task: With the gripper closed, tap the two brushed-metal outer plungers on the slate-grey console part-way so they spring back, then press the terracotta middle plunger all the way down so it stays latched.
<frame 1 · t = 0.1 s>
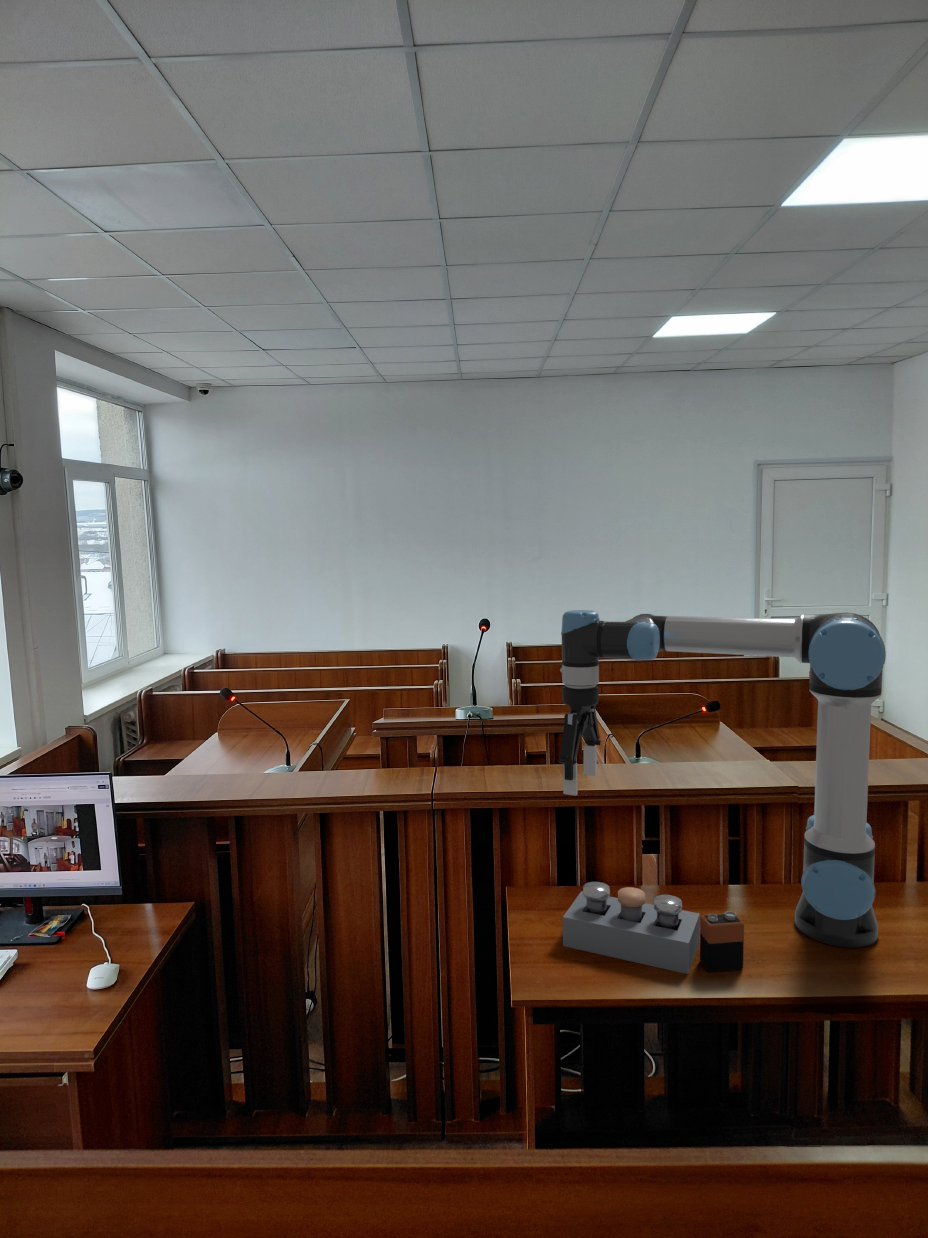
hand: (580, 784, 163), 28 cm above the table, fingers open, 13 cm apart
plunger 1: (596, 903, 155), point 7 cm above the table, slide at 0.2 cm
plunger mid: (631, 909, 152), point 7 cm above the table, slide at 0.0 cm
battery: (721, 966, 145), on the table
plunger 2: (667, 917, 149), point 7 cm above the table, slide at 0.2 cm
console: (631, 944, 152), on the table
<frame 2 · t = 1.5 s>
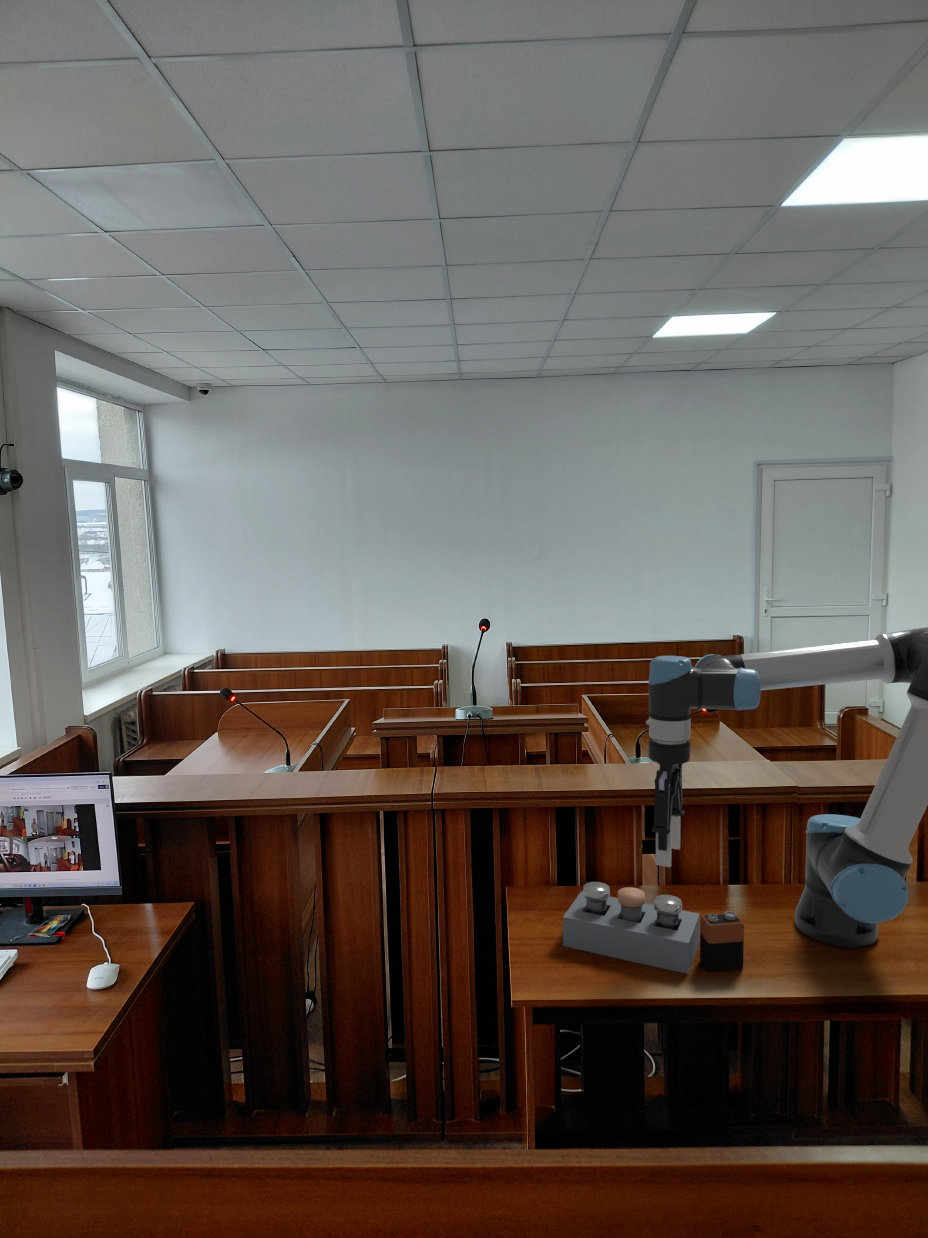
hand: (668, 856, 147), 19 cm above the table, fingers open, 8 cm apart
nothing on the table moved.
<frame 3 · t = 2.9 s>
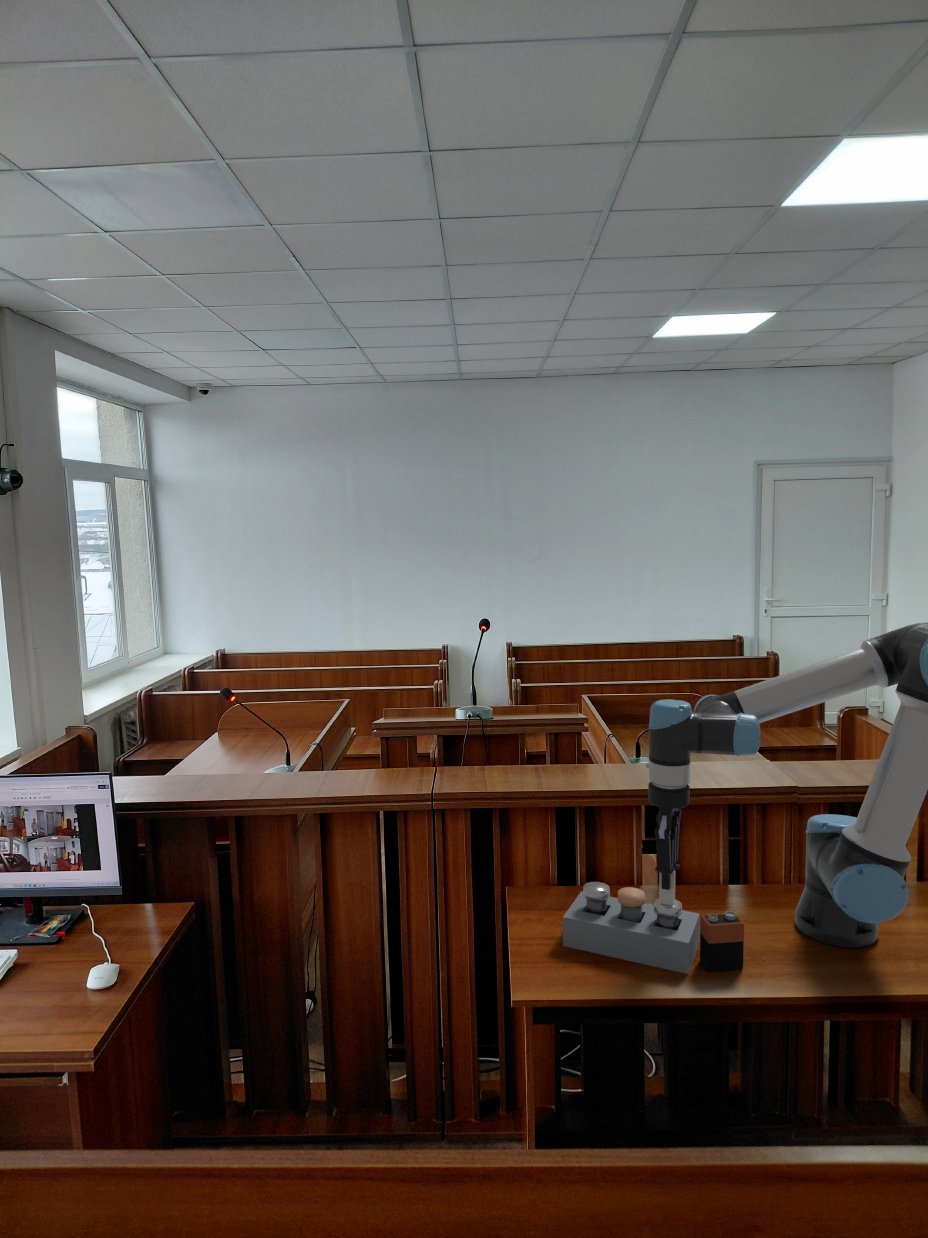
hand: (666, 902, 148), 10 cm above the table, fingers closed
plunger 2: (667, 920, 149), point 6 cm above the table, slide at 0.8 cm, touching gripper
everything else where it was.
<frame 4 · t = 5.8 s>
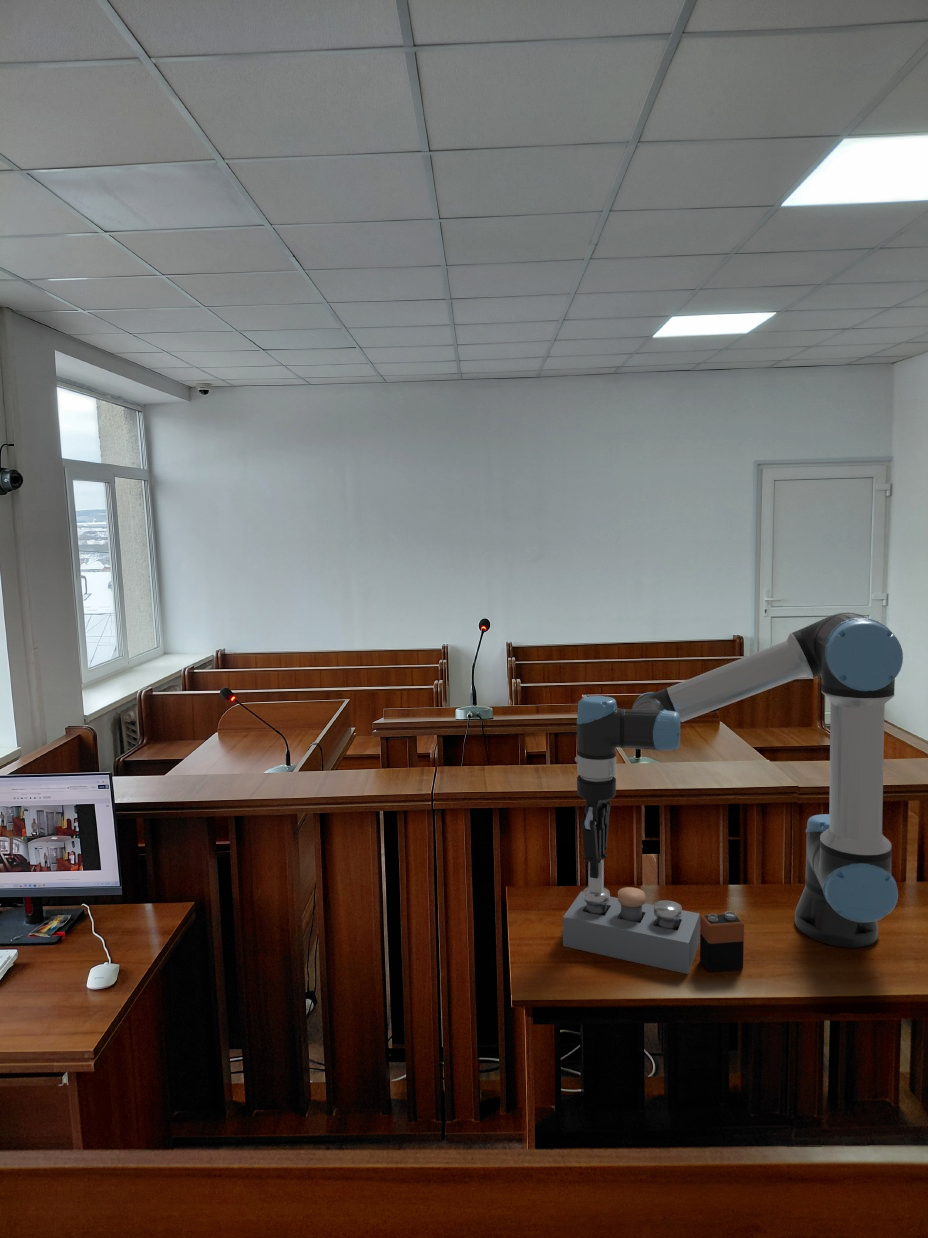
hand: (595, 890, 154), 10 cm above the table, fingers closed
plunger 1: (596, 907, 155), point 6 cm above the table, slide at 1.1 cm, touching gripper
plunger 2: (667, 923, 149), point 6 cm above the table, slide at 1.3 cm
everything else where it was.
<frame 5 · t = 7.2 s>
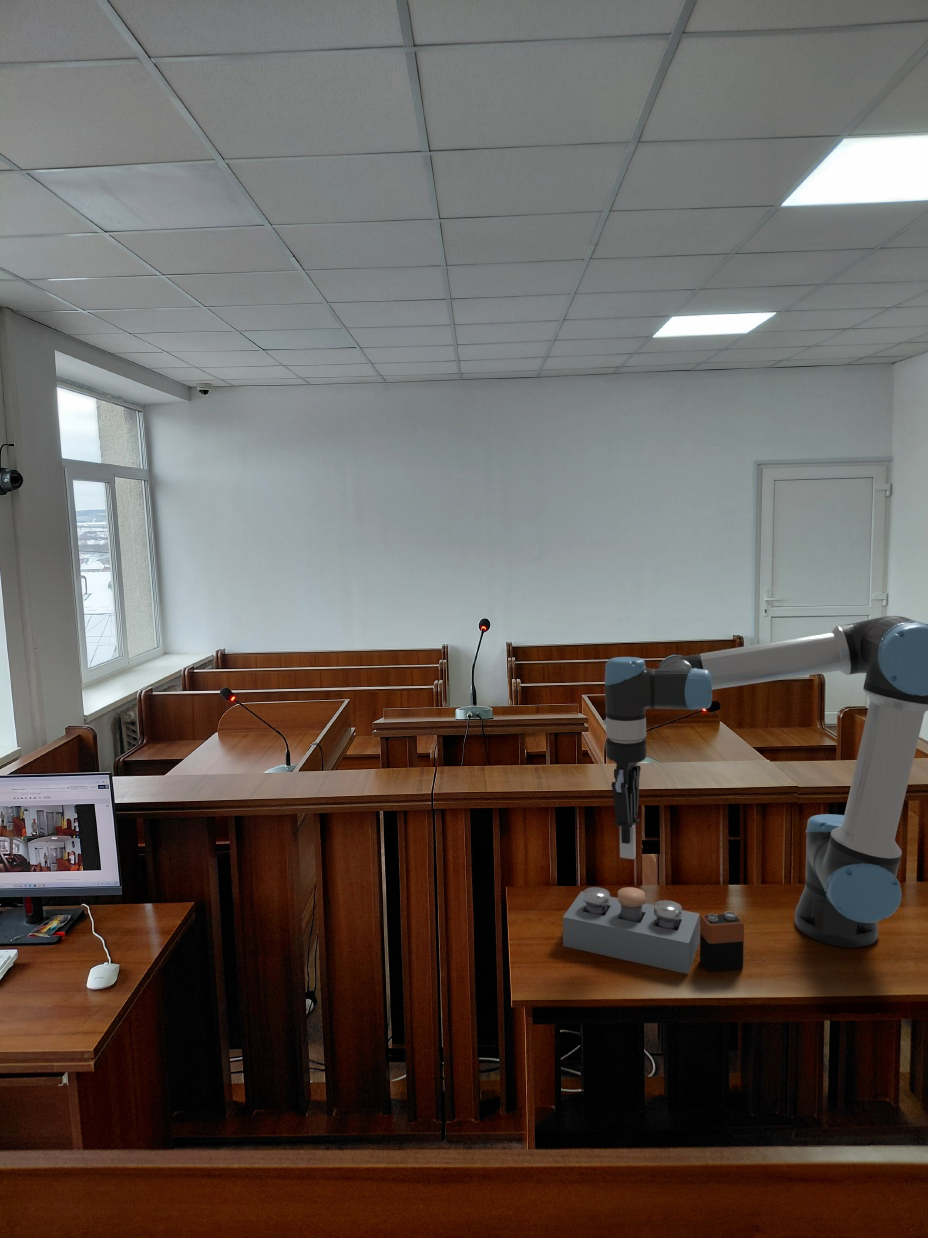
hand: (627, 856, 151), 18 cm above the table, fingers closed
plunger 1: (596, 908, 155), point 6 cm above the table, slide at 1.3 cm
everything else where it was.
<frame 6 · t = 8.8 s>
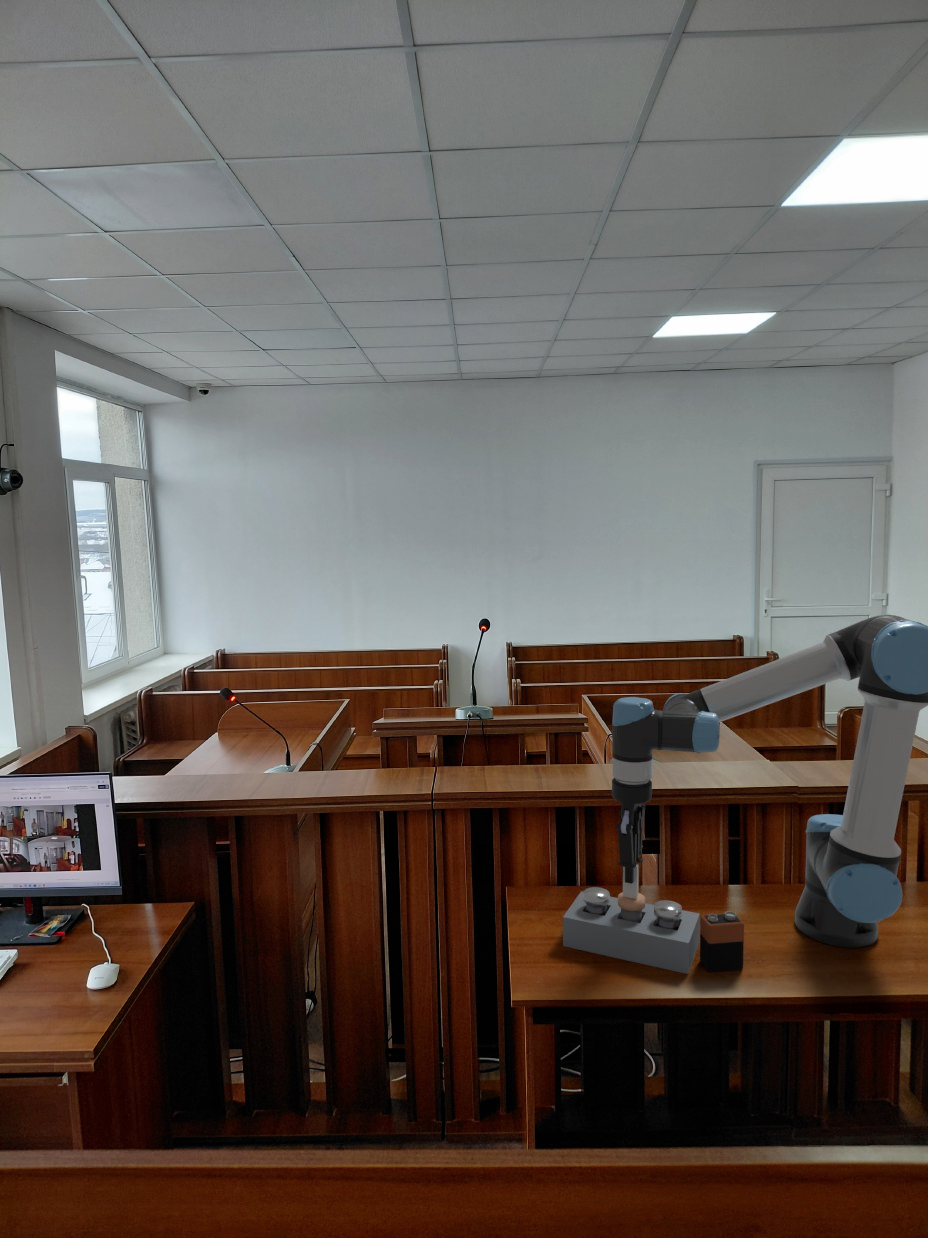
hand: (630, 896, 151), 10 cm above the table, fingers closed
plunger mid: (631, 913, 152), point 6 cm above the table, slide at 0.8 cm, touching gripper
everything else where it was.
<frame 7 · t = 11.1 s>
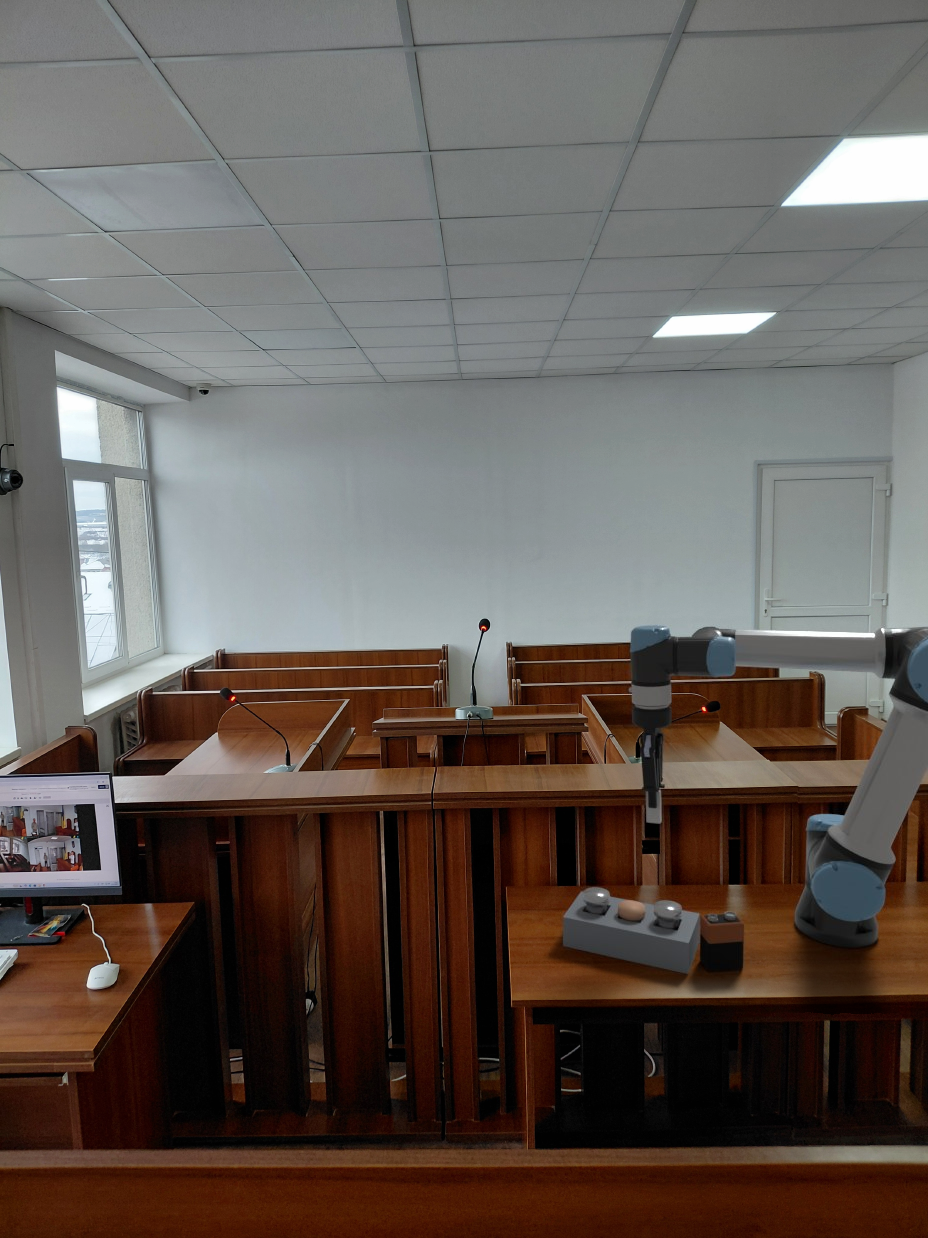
hand: (654, 821, 154), 23 cm above the table, fingers closed
plunger mid: (631, 922, 152), point 5 cm above the table, slide at 2.7 cm
everything else where it was.
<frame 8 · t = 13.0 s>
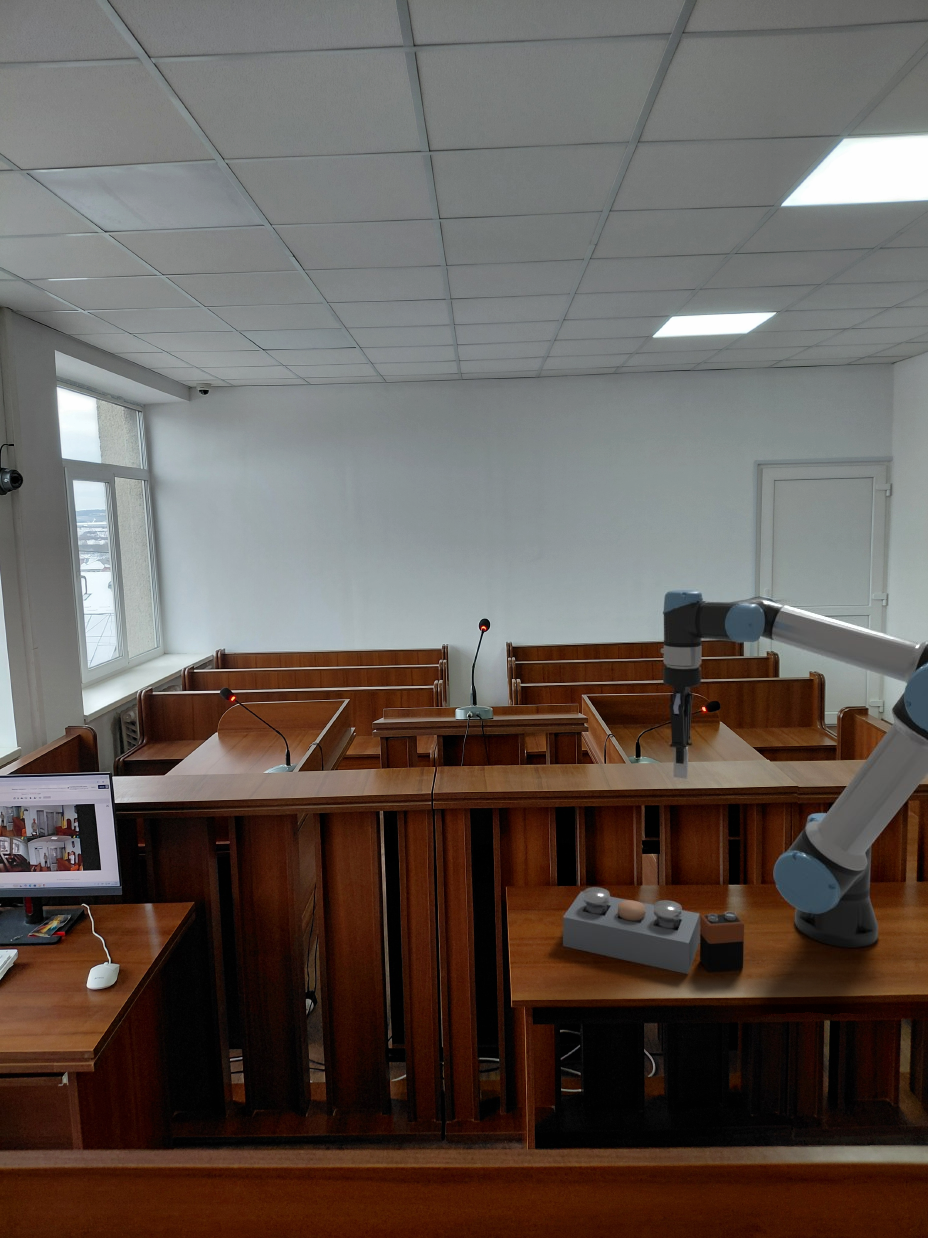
hand: (680, 776, 162), 29 cm above the table, fingers closed
nothing on the table moved.
at the end: plunger mid slide at 2.7 cm; plunger 2 slide at 1.3 cm; plunger mid touching nothing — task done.
